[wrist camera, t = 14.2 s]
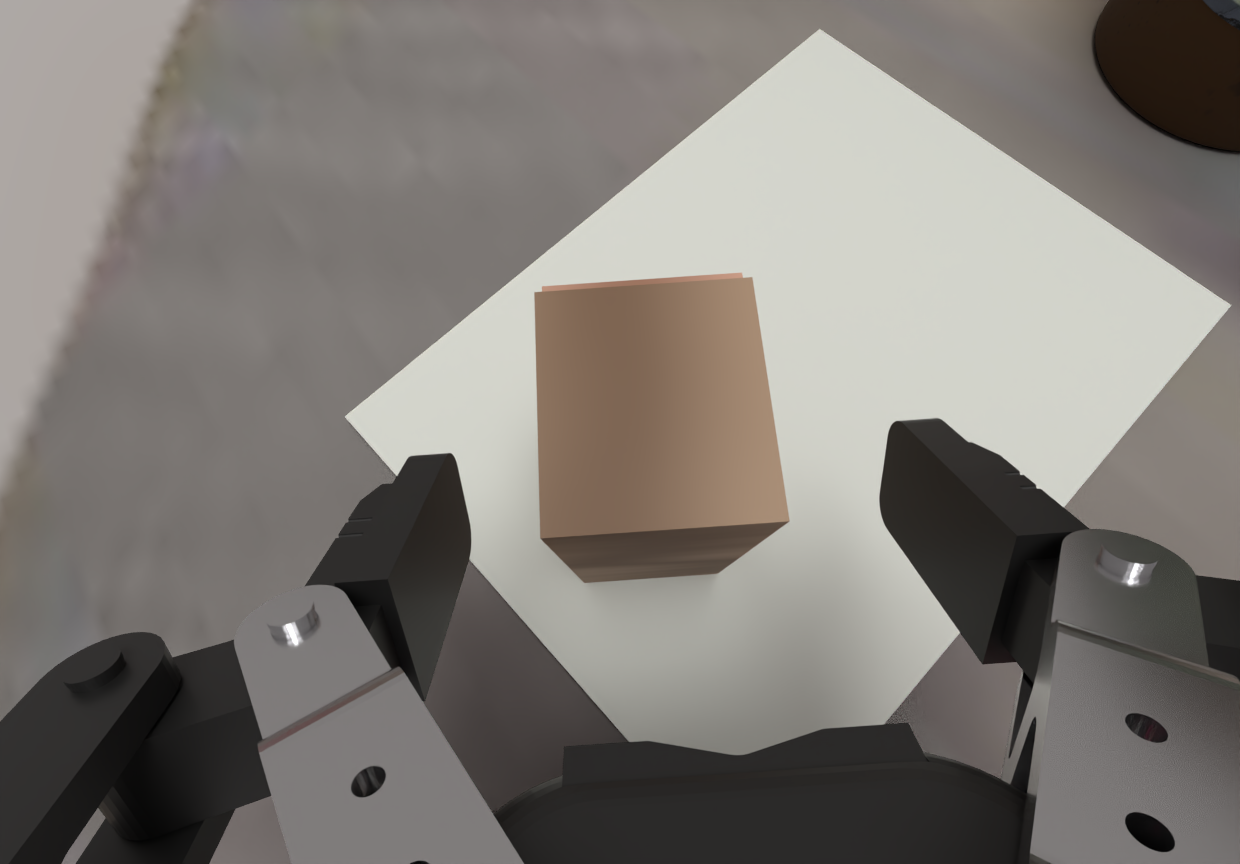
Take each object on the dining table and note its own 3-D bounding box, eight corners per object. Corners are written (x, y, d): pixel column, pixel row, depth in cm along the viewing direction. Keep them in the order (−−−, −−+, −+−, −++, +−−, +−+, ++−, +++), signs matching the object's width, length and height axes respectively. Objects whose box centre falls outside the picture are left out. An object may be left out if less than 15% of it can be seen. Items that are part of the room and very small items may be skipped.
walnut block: (700, 422, 20) (750, 262, 11) (717, 573, 18) (789, 521, 10) (577, 431, 20) (533, 277, 11) (584, 582, 18) (540, 538, 10)
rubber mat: (1220, 311, 21) (1230, 305, 21) (750, 877, 16) (752, 883, 16) (816, 38, 25) (819, 29, 25) (350, 420, 21) (344, 416, 20)
